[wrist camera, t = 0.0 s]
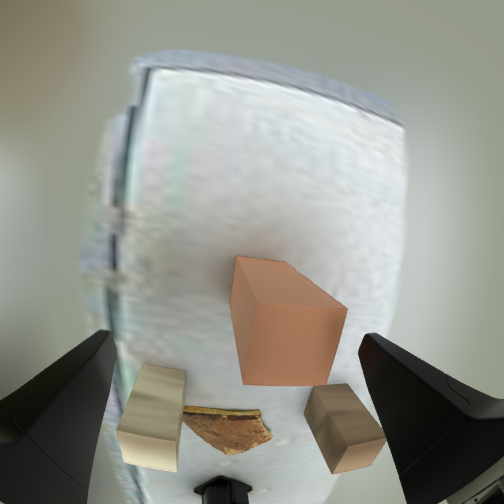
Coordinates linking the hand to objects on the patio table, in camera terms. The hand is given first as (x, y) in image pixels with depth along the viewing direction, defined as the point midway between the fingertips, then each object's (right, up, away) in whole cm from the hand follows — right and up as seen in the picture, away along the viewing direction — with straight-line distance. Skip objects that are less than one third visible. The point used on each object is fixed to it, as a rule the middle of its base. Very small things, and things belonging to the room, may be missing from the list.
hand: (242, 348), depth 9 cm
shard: (-3, -17, +19) cm, 26 cm away
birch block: (-9, -10, +16) cm, 21 cm away
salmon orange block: (+1, 0, +16) cm, 16 cm away
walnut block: (+9, -14, +19) cm, 25 cm away
